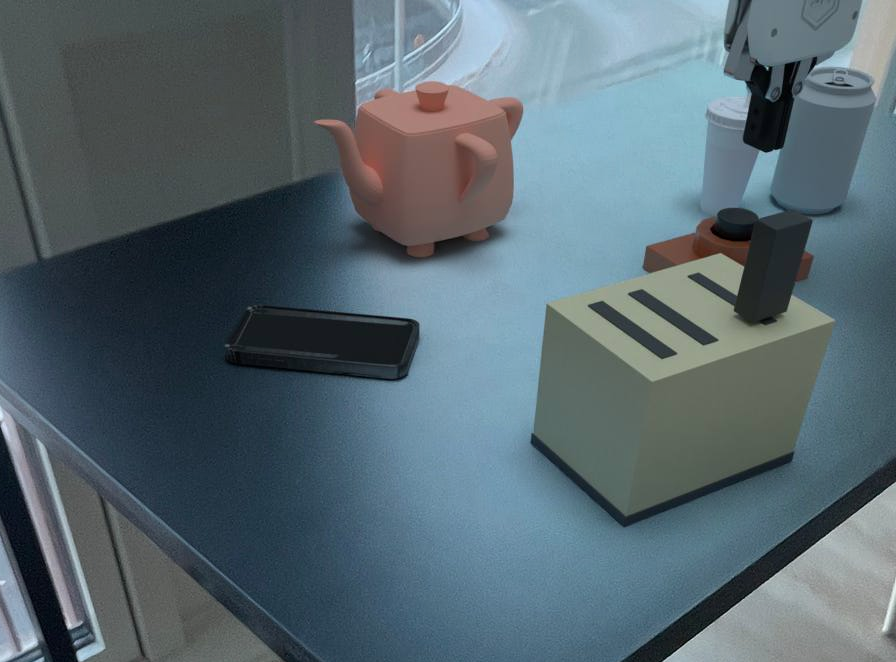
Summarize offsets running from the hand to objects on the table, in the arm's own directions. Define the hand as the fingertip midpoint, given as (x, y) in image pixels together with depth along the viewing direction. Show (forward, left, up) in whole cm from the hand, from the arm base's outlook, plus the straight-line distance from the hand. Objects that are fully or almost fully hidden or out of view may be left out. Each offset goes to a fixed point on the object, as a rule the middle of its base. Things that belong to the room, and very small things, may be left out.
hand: (762, 145), depth 84 cm
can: (-18, -8, -12) cm, 23 cm away
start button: (0, 0, -8) cm, 8 cm away
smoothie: (-9, -11, -12) cm, 18 cm away
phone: (+38, -6, -11) cm, 41 cm away
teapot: (+20, -21, -12) cm, 32 cm away
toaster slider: (+20, +21, 0) cm, 29 cm away
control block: (0, 0, -11) cm, 11 cm away
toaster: (+23, +19, -11) cm, 32 cm away
